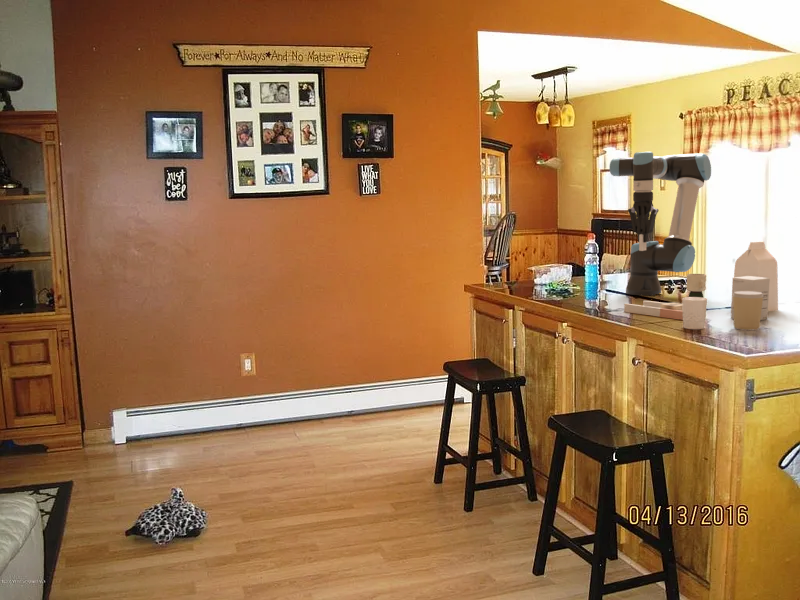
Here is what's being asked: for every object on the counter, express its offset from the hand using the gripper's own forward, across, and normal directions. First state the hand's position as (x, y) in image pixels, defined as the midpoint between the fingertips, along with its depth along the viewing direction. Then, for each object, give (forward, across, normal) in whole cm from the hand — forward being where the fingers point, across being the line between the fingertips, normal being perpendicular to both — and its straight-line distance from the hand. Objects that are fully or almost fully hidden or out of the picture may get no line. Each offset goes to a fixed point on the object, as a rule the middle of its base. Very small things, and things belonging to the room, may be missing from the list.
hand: (642, 250), depth 311 cm
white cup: (+21, +43, -32) cm, 57 cm away
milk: (+23, +37, +18) cm, 47 cm away
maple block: (+22, +24, -15) cm, 36 cm away
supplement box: (+22, +47, -3) cm, 52 cm away
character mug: (+23, +19, +8) cm, 30 cm away
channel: (+21, +19, -14) cm, 32 cm away
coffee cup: (+21, +55, -20) cm, 62 cm away
